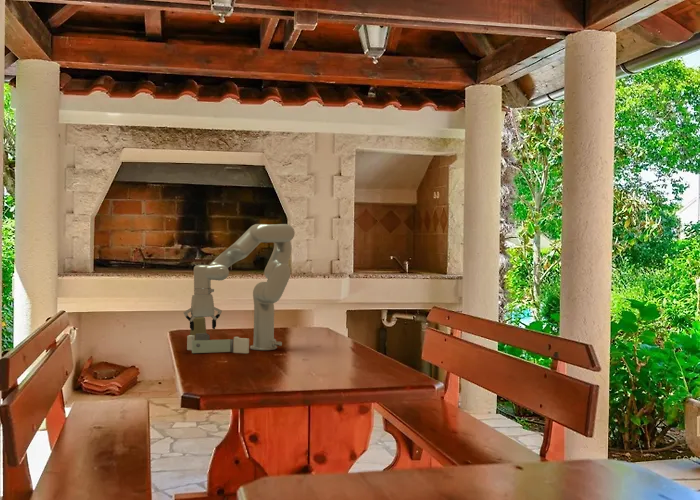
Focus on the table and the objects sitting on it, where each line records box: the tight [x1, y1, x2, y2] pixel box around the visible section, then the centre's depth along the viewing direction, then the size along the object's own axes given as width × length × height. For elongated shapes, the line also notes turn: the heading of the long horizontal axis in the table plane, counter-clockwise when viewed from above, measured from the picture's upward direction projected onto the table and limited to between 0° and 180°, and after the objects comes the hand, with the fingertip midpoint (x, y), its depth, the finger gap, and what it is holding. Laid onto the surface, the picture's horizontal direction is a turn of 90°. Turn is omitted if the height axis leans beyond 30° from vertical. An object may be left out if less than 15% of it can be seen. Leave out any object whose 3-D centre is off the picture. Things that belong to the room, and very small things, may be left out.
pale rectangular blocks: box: [186, 334, 250, 354], centre depth 347 cm, size 30×3×7 cm, turn 77°
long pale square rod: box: [191, 338, 234, 354], centre depth 342 cm, size 19×2×6 cm, turn 112°
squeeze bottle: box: [189, 317, 207, 341], centre depth 376 cm, size 8×8×18 cm
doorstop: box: [196, 332, 211, 340], centre depth 345 cm, size 5×7×8 cm
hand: (203, 329), depth 344 cm, fingers open, 9 cm apart
